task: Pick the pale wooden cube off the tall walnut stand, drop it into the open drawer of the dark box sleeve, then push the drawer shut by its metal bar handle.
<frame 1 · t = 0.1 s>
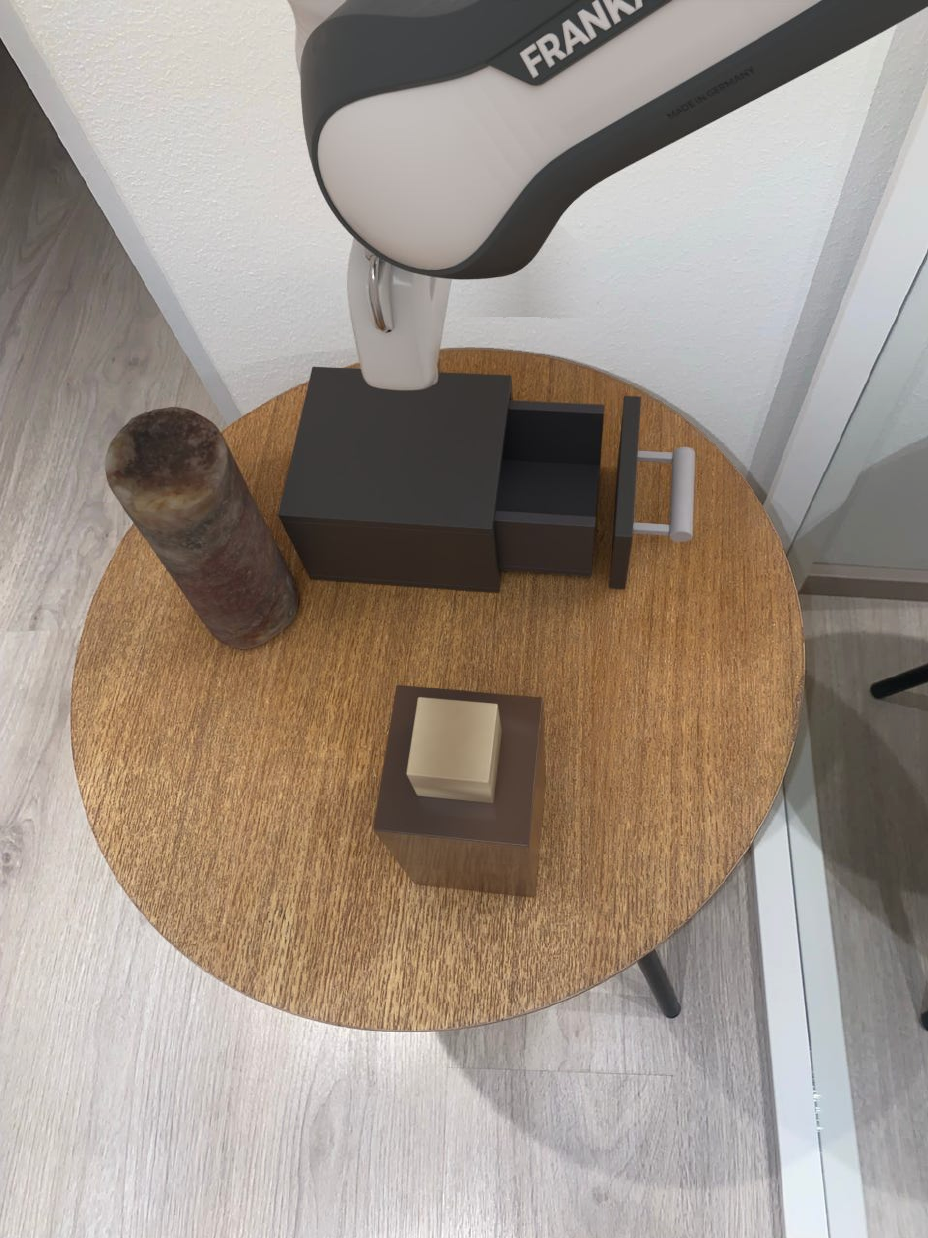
hand: (435, 312, 59), 20 cm above the table, tool pointing down, fingers open, 8 cm apart
brown cylinder: (256, 609, 74), on the table
stand: (481, 830, 65), on the table
cube: (459, 762, 51), point 16 cm above the table, touching stand
drawer: (567, 490, 70), point 5 cm above the table, slide at 8.0 cm
dark box sleeve: (415, 514, 76), on the table
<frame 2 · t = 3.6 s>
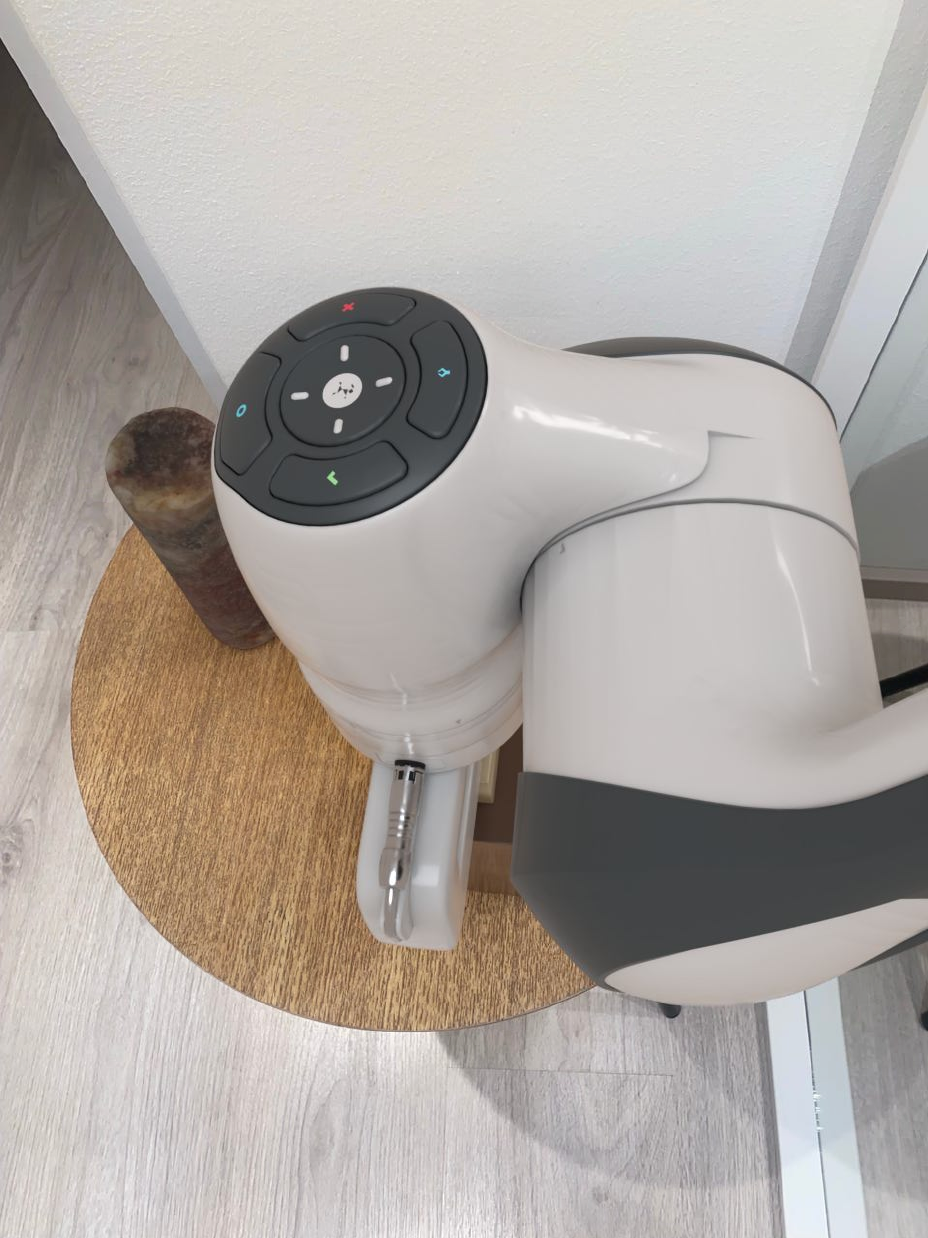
hand: (458, 755, 50), 17 cm above the table, tool pointing down, fingers closed on cube, 4 cm apart
cube: (459, 762, 51), point 16 cm above the table, touching gripper, stand
everything else where it was.
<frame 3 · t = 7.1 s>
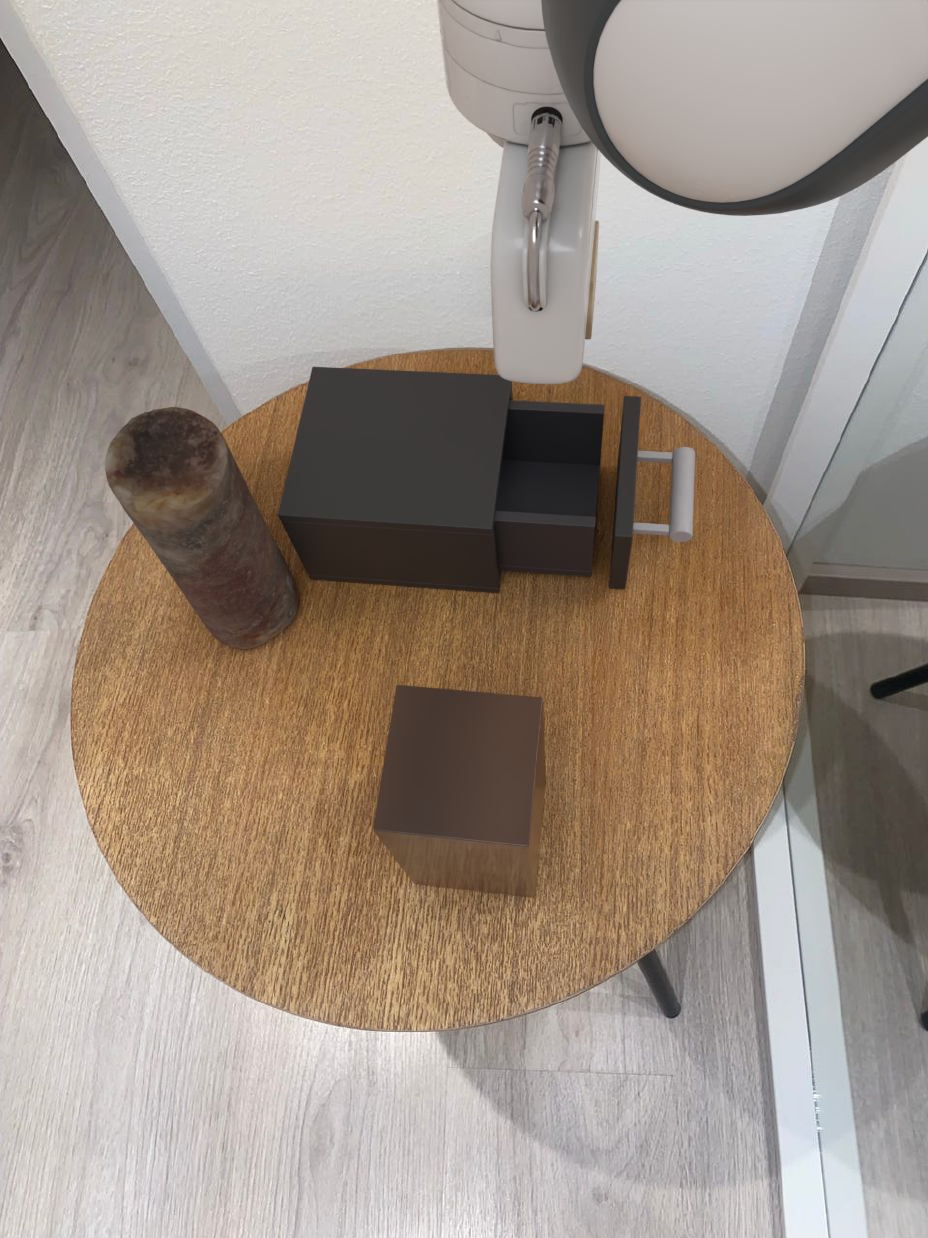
hand: (556, 292, 49), 27 cm above the table, tool pointing down, fingers closed on cube, 4 cm apart
cube: (554, 308, 50), point 26 cm above the table, touching gripper
everything else where it was.
when the fingers open (13 cm above the table, at t = 10.5 s): cube drops 10 cm, resting on drawer.
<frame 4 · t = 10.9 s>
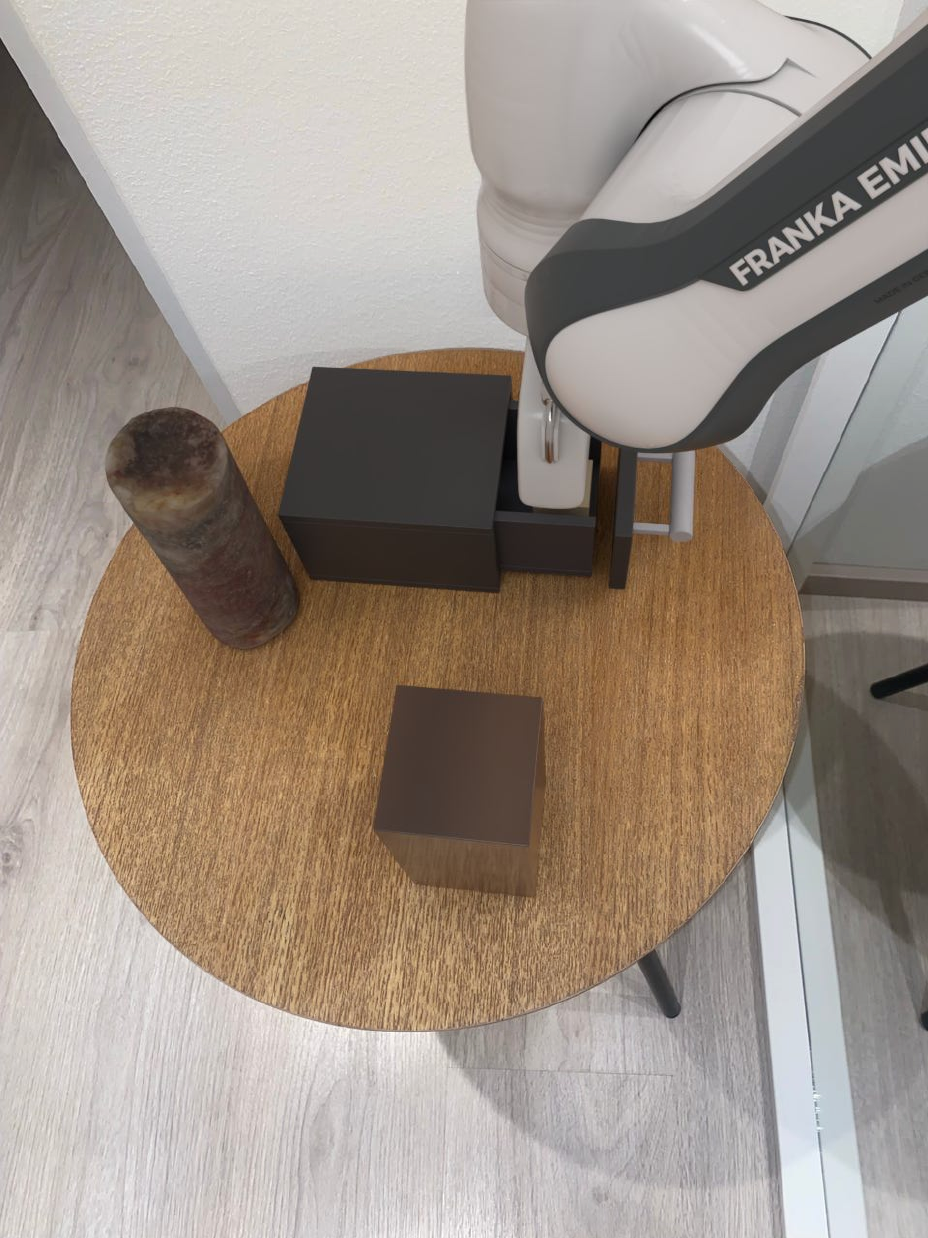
hand: (564, 418, 62), 13 cm above the table, tool pointing down, fingers open, 8 cm apart
cube: (562, 510, 73), point 2 cm above the table, touching drawer
drawer: (567, 490, 70), point 5 cm above the table, slide at 8.0 cm, touching cube
everything else where it was.
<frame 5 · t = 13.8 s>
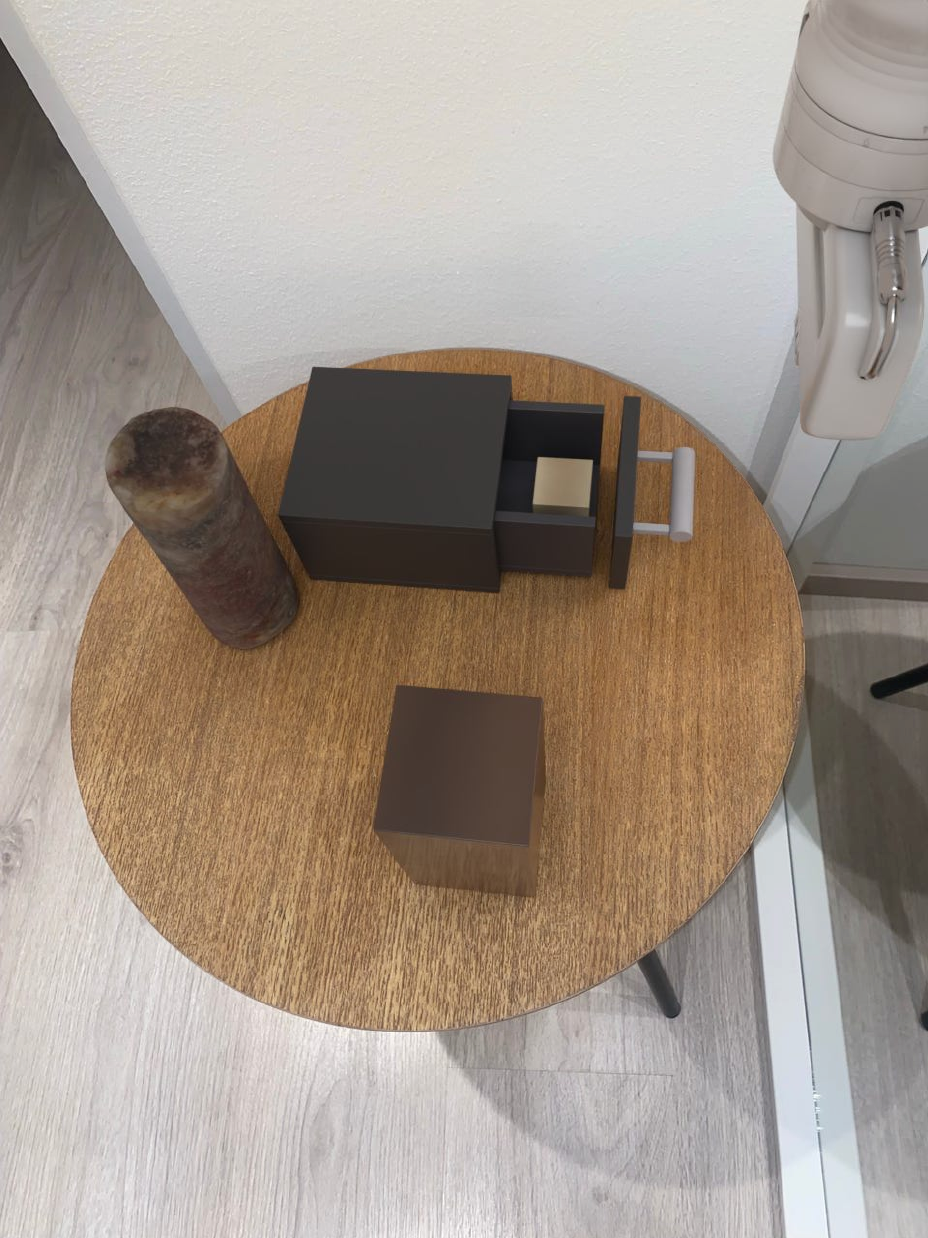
hand: (809, 346, 54), 21 cm above the table, tool pointing down, fingers closed
nothing on the table moved.
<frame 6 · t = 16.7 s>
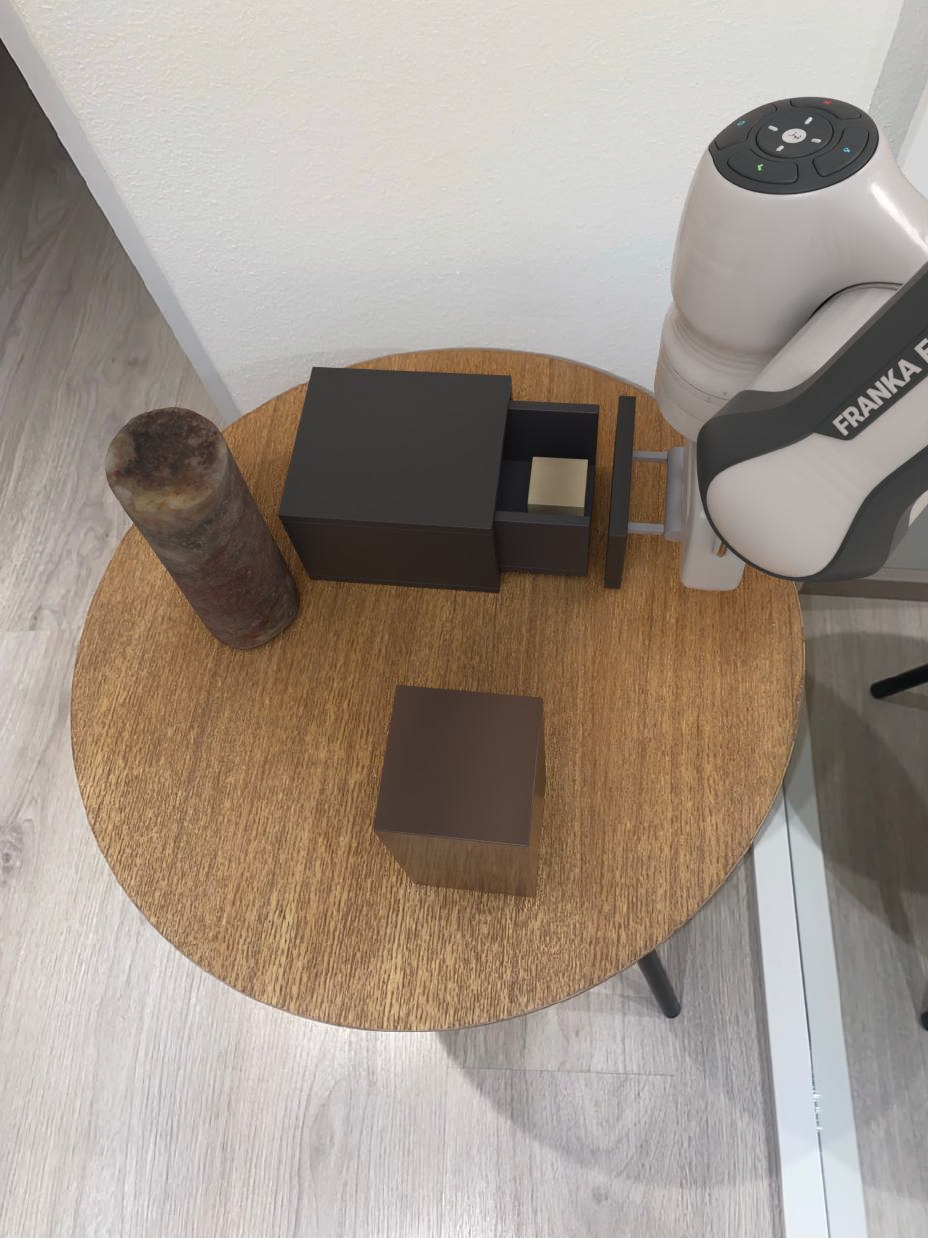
hand: (700, 497, 69), 5 cm above the table, tool pointing down, fingers closed, pressing on drawer
drawer: (563, 490, 70), point 5 cm above the table, slide at 7.6 cm, touching cube, gripper
everything else where it was.
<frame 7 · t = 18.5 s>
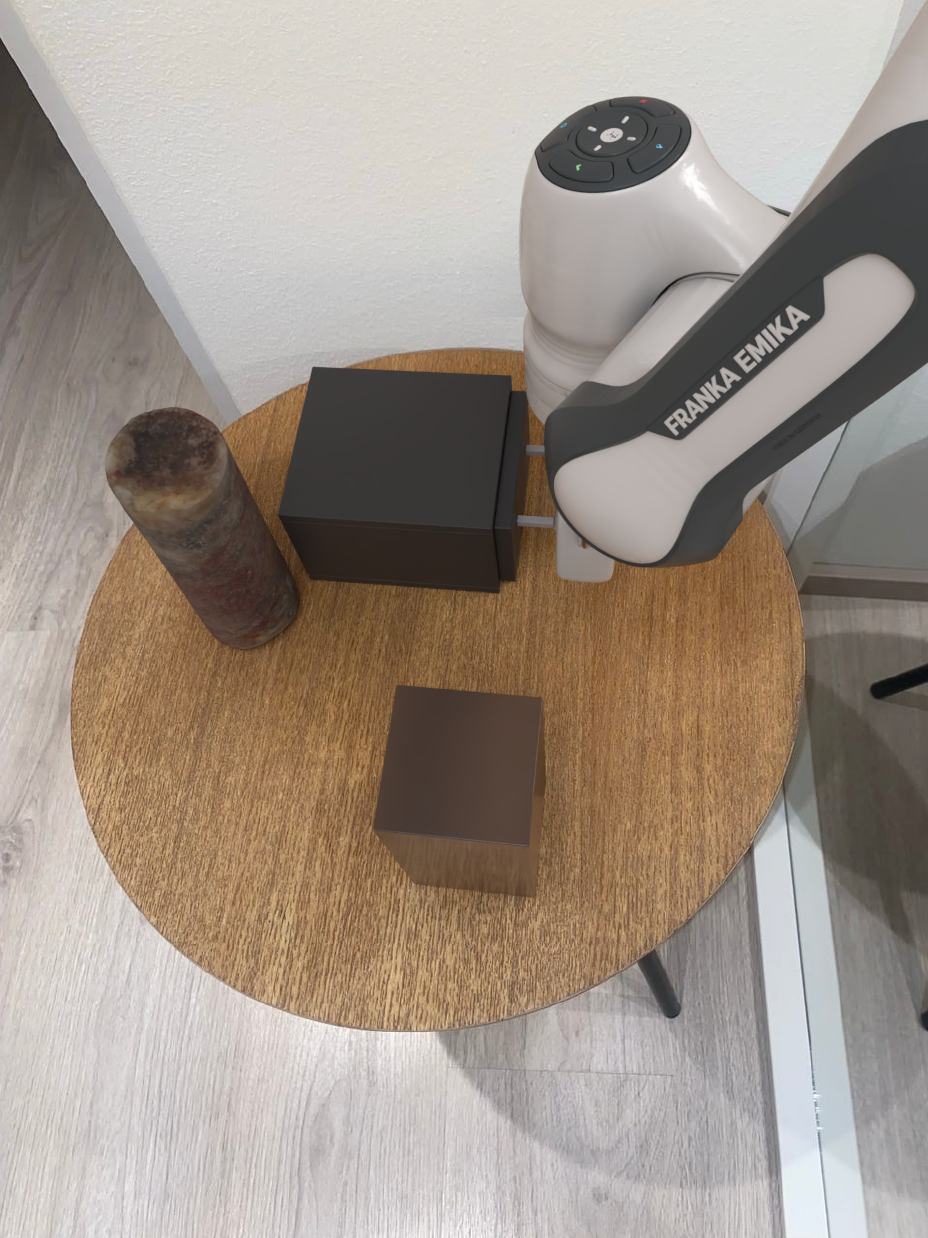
hand: (591, 492, 70), 5 cm above the table, tool pointing down, fingers closed, pressing on drawer
cube: (456, 504, 74), point 2 cm above the table, touching drawer
drawer: (458, 484, 71), point 5 cm above the table, slide at 0.0 cm, touching cube, dark box sleeve, gripper
everything else where it was.
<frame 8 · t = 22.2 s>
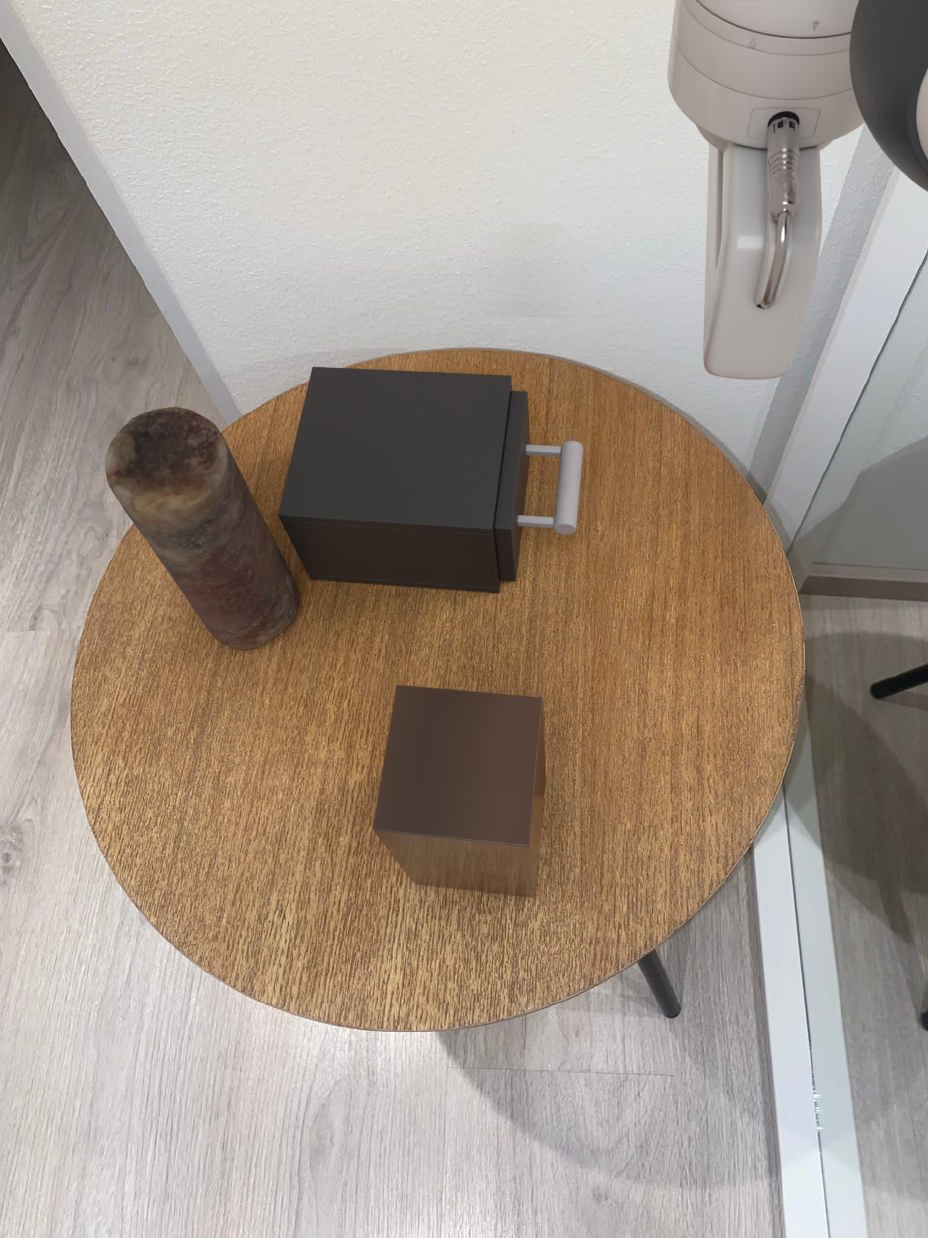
hand: (728, 290, 51), 25 cm above the table, tool pointing down, fingers closed
drawer: (458, 484, 71), point 5 cm above the table, slide at 0.0 cm, touching cube, dark box sleeve
everything else where it was.
at the end: cube inside the target area in the dark box sleeve (3.5 cm from its centre), point 2.0 cm above the dark box sleeve's base; drawer slide at 0.0 cm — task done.
